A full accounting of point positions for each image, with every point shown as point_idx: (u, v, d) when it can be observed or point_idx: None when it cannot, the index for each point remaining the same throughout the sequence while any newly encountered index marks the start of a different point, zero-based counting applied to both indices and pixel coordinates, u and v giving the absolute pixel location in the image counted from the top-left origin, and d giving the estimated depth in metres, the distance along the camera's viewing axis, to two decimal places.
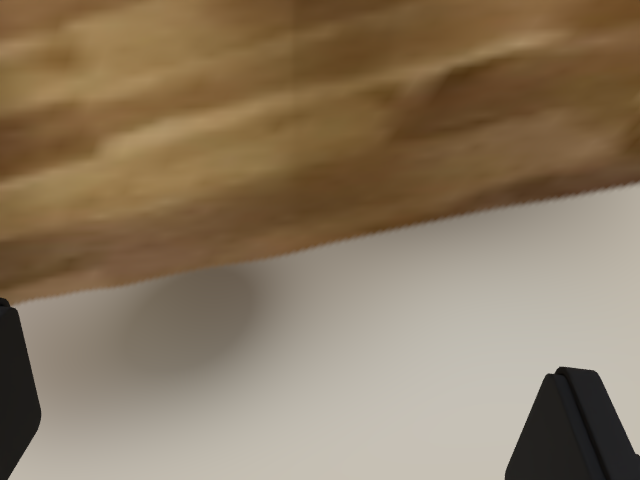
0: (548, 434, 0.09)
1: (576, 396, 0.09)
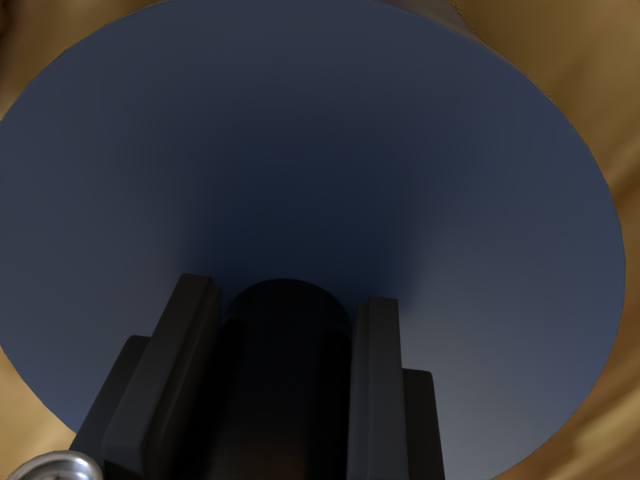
0: (352, 354, 0.10)
1: (370, 317, 0.10)
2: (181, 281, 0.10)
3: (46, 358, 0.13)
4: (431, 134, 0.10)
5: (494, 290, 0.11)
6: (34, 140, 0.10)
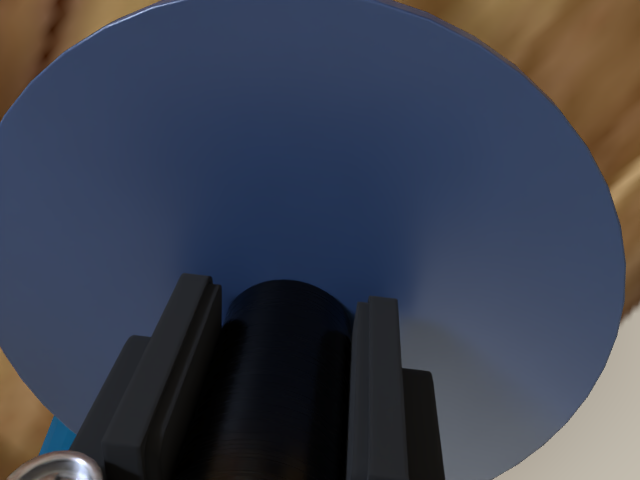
0: (352, 354, 0.10)
1: (370, 317, 0.10)
2: (181, 281, 0.10)
3: (47, 359, 0.13)
4: (431, 136, 0.10)
5: (494, 291, 0.11)
6: (34, 140, 0.10)
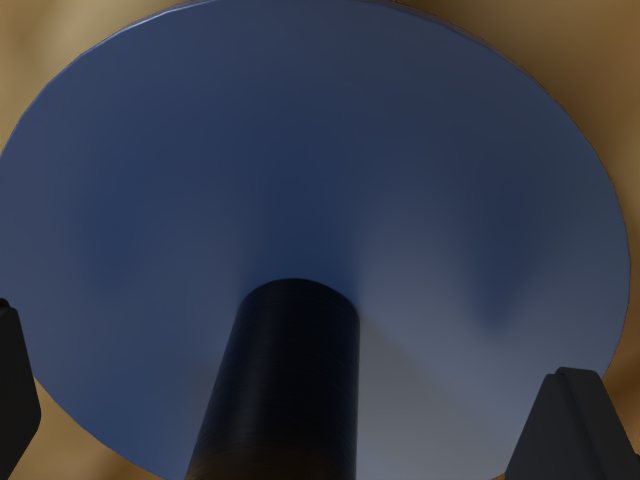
0: (548, 434, 0.09)
1: (576, 396, 0.09)
2: None
3: (59, 356, 0.13)
4: (440, 136, 0.10)
5: (501, 289, 0.11)
6: (49, 141, 0.10)
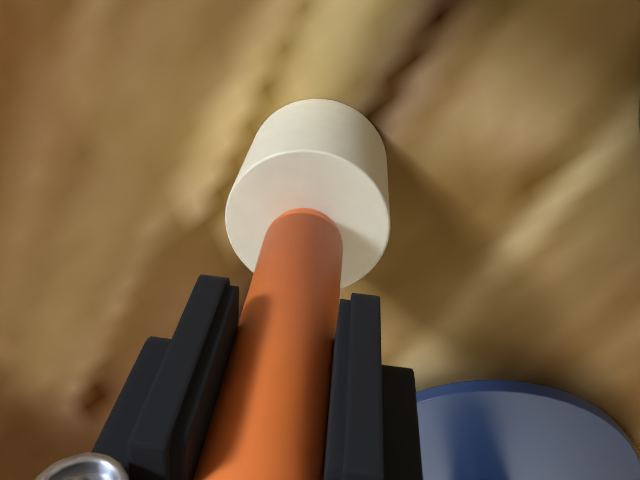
0: (334, 351, 0.10)
1: (352, 315, 0.10)
2: (199, 283, 0.10)
3: None
4: (563, 435, 0.23)
5: None
6: None
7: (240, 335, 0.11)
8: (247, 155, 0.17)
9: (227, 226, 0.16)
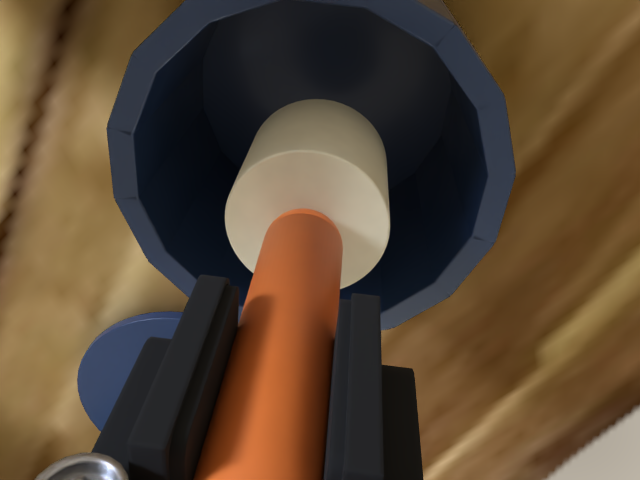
0: (334, 351, 0.10)
1: (352, 315, 0.10)
2: (199, 283, 0.10)
3: (101, 413, 0.35)
4: None
5: None
6: (102, 350, 0.33)
7: (240, 336, 0.11)
8: (247, 155, 0.16)
9: (227, 227, 0.16)
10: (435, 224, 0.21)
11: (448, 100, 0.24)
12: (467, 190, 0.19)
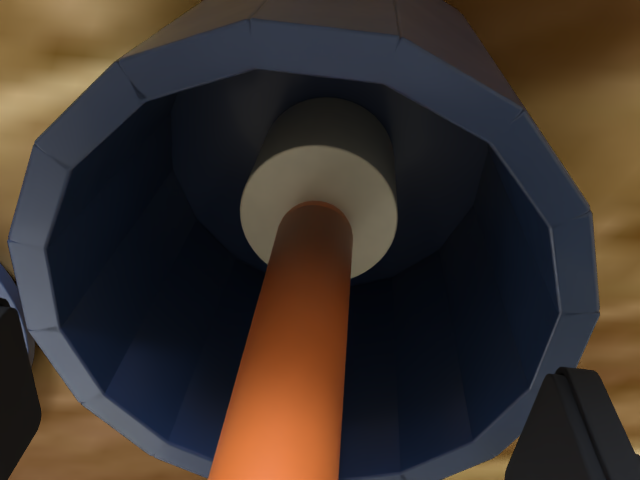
0: (548, 434, 0.09)
1: (576, 396, 0.09)
2: None
3: None
4: None
5: None
6: None
7: (258, 317, 0.11)
8: (260, 151, 0.17)
9: (241, 218, 0.16)
10: (349, 395, 0.17)
11: (426, 257, 0.21)
12: (418, 406, 0.16)
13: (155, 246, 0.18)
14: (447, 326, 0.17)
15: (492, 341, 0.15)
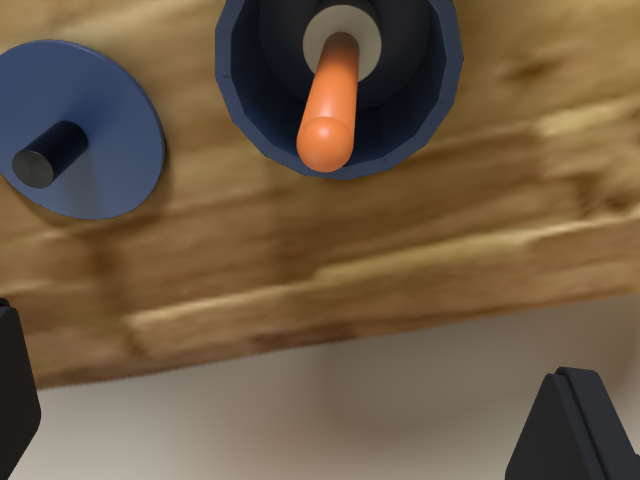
0: (548, 434, 0.09)
1: (576, 396, 0.09)
2: None
3: None
4: (134, 122, 0.39)
5: (126, 165, 0.41)
6: (45, 51, 0.37)
7: (321, 58, 0.28)
8: (311, 17, 0.33)
9: (303, 47, 0.32)
10: (357, 143, 0.34)
11: (399, 91, 0.37)
12: (391, 137, 0.32)
13: (255, 69, 0.34)
14: (408, 108, 0.34)
15: (426, 98, 0.31)
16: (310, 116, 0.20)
